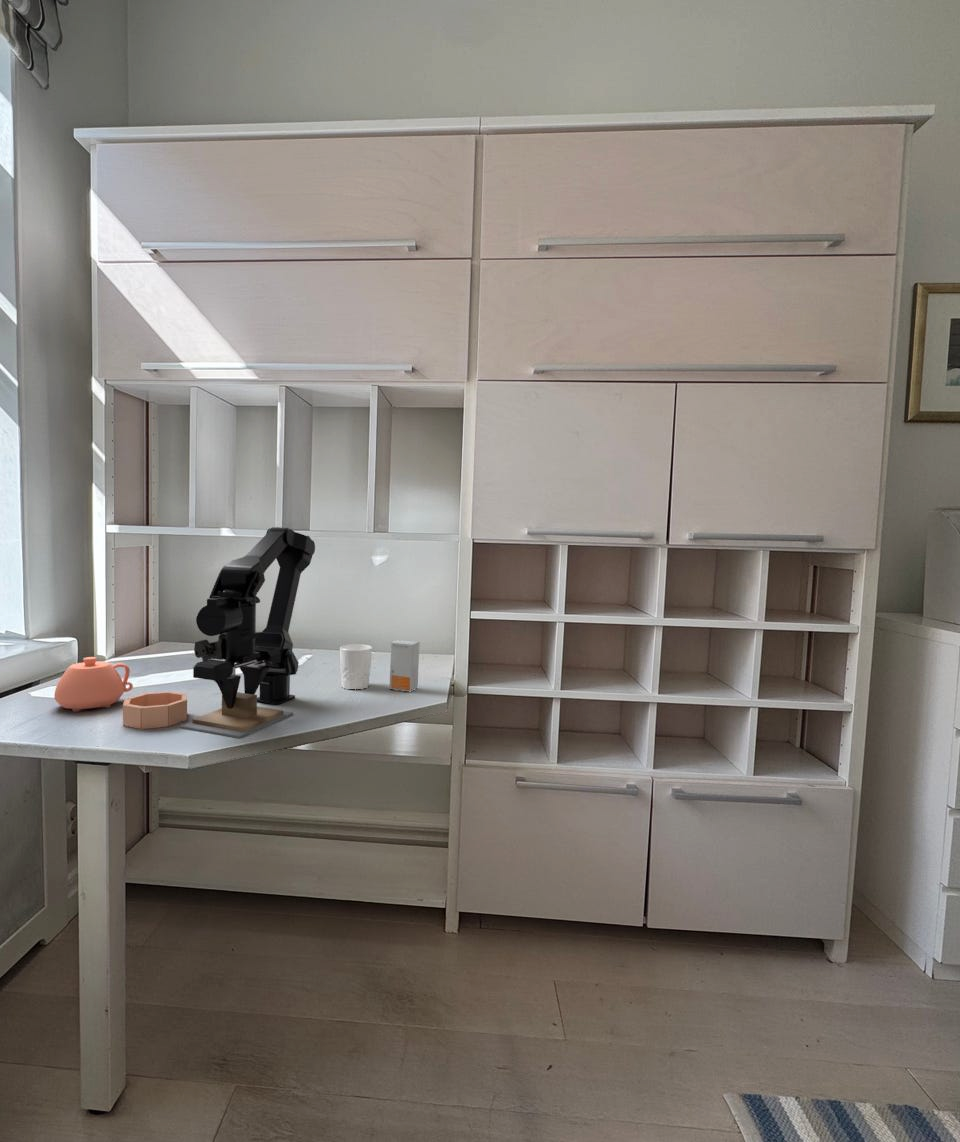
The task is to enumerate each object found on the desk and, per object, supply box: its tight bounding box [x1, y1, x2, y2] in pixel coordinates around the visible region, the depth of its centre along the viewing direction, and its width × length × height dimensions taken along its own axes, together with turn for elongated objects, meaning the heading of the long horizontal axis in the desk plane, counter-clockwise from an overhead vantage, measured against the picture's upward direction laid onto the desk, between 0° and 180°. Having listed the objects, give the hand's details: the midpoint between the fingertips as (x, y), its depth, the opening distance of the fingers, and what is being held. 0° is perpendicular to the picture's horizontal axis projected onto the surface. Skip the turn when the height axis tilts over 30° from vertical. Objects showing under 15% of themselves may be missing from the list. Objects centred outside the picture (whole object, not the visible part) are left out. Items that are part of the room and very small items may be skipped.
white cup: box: [339, 643, 373, 691], centre depth 147 cm, size 8×8×10 cm
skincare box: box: [389, 639, 420, 692], centre depth 146 cm, size 6×4×12 cm
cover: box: [191, 691, 284, 732], centre depth 118 cm, size 12×12×5 cm
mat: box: [179, 710, 294, 739], centre depth 118 cm, size 16×14×1 cm
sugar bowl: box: [53, 656, 134, 712], centre depth 125 cm, size 12×14×10 cm
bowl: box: [122, 690, 188, 730], centre depth 117 cm, size 11×11×4 cm
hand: (239, 704), depth 118 cm, fingers open, 5 cm apart
